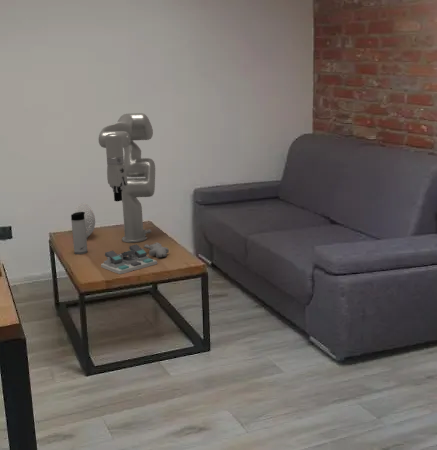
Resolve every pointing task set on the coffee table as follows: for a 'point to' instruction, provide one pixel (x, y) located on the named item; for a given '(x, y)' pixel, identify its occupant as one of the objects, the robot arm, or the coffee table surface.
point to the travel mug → (79, 233)
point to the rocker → (113, 257)
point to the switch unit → (128, 263)
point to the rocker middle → (128, 253)
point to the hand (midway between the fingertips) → (118, 200)
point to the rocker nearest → (138, 251)
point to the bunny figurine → (157, 250)
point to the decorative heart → (87, 217)
